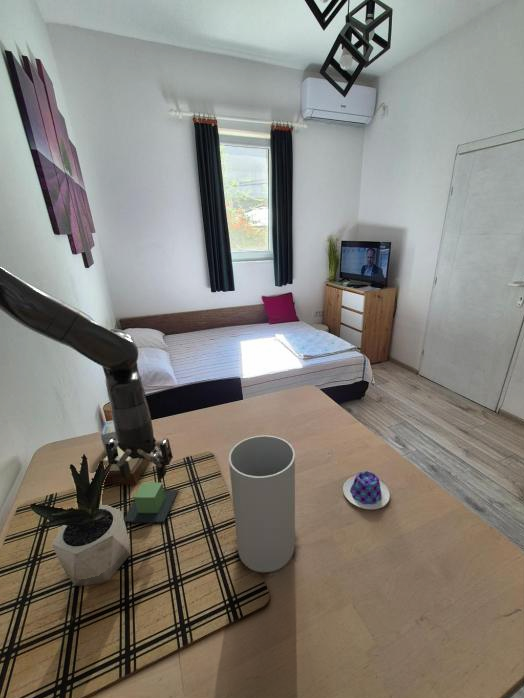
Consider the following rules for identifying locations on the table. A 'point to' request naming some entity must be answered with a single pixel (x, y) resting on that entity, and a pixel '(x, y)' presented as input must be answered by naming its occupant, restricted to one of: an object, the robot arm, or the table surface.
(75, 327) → the robot arm
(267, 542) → the cylinder vase
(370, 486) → the pudding
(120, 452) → the cream block
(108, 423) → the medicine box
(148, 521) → the rubber mat
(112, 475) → the walnut block
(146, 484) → the green cube
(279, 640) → the table surface
